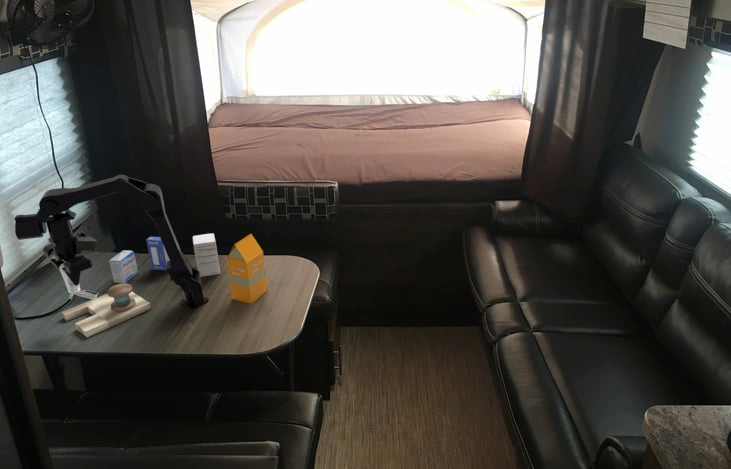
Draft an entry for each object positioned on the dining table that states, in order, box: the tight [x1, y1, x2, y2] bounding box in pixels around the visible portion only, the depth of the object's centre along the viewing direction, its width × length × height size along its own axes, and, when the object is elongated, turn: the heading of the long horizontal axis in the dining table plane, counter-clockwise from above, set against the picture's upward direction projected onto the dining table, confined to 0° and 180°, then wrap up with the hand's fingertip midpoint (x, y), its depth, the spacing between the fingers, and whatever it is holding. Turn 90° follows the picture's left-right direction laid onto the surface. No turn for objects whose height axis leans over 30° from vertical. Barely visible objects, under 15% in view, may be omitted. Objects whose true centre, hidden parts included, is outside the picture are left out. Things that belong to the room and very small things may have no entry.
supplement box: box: [192, 232, 221, 278], centre depth 194 cm, size 7×7×13 cm
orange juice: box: [226, 233, 268, 304], centre depth 178 cm, size 8×9×20 cm
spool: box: [106, 283, 136, 312], centre depth 172 cm, size 7×7×6 cm
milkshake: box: [59, 263, 81, 294], centre depth 164 cm, size 4×5×10 cm
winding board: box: [61, 291, 152, 338], centre depth 173 cm, size 16×20×2 cm
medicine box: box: [108, 249, 139, 284], centre depth 192 cm, size 8×4×9 cm, turn 168°
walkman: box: [145, 236, 170, 272], centre depth 197 cm, size 8×3×12 cm, turn 81°
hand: (73, 282), depth 165 cm, fingers closed on milkshake, 4 cm apart
